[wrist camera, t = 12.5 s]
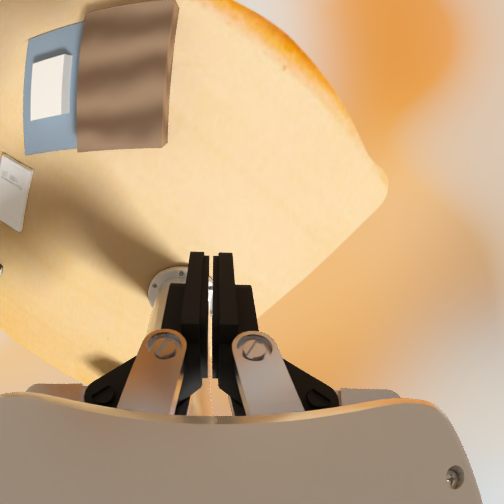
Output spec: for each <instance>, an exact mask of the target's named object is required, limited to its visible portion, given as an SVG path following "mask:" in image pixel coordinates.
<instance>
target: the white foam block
mask: <svg viewBox="0 0 504 504" xmlns="http://www.w3.org/2000/svg"><path fill="white" fill-rule="evenodd" d="M72 57H73V56H72V55H67V54H63V55H59V56H56V57H53V58H49V59H46V60H43V61H40V62H37V63H34V64H33V67H32V80H31V121H33V120H37V119H42V118H46V117H51V116H56V115H61V114H66V113H70V82H71V68H72Z"/></svg>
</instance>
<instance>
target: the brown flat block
mask: <svg viewBox="0 0 504 504" xmlns="http://www.w3.org/2000/svg"><path fill="white" fill-rule="evenodd" d="M178 13H179V7H178V5H177V3H176V1H175V0H158V1H148V2H140V3H133V4H126V5H121V6H115V7H110V8H105V9H101V10H96V11H92V12H88V13H86V16H85V22H84V27H83V34H82V41H81V48H80V57H79V68H78V82H77V151H78V152H87V151H99V150H114V149H135V148H162V147H163V146H164V145H165V144H167V138H168V113H169V96H170V83H171V71H172V61H173V51H174V42H175V35H176V27H177V20H178Z"/></svg>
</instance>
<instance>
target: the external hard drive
mask: <svg viewBox="0 0 504 504" xmlns="http://www.w3.org/2000/svg"><path fill="white" fill-rule="evenodd" d="M33 173H34V170H32V169H31V168H29V167H27V166H25V165H24V164H22V163H19V162H17V161H16V160H15V159H13V158H12V157H10V156H8V155H7V154H5V153H4V154H2V157H1V162H0V220H1V221H2V222H4V223H5V224H7V225H8V226H10V227H11V228H13V229H14V230H16V231H18V232H21V231H22V229H23V222H24V215H25V210H26V204H27V199H28V194H29V189H30V185H31V181H32V176H33Z"/></svg>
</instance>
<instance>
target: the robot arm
mask: <svg viewBox="0 0 504 504" xmlns="http://www.w3.org/2000/svg"><path fill="white" fill-rule="evenodd" d="M148 298H149V302H150V304H151V306H152V307H153V310H152V314H151V318H150V323H149V327H148V331H147V336H146V337H145V339H144V340H143V342H142V344H141V347H140V349H139V352H138V354H137V356H135V357H134V358H132V359H130V360H129V361H127V362H125V363H124V364H122V365H120V366H119V367H117V368H115V369H114V370H112V371H110V372H109V373H107V374H105V375H104V376H102V377H100V378H99V379H97V380H95V381H94V382H92V383H91V384H90V385H89V386H83V385H82V384H35V385H33V386H31V387H29V389H28V390H27V391H26V392H12V393H5V394H1V395H0V504H482V500H481V496H480V493H479V489H478V486H477V483H476V480H475V477H474V474H473V471H472V468H471V466H470V463H469V460H468V458H467V455H466V453H465V451H464V448H463V446H462V444H461V442H460V439H459V437H458V435H457V433H456V431H455V430H454V428H453V426H452V424H451V423H450V421H449V419H448V418H447V416H446V415H445V414H444V412H443V411H442V410H441V409H440V408H439V407H438V406H436V405H434V404H432V403H430V402H427V401H423V400H417V399H409V398H400V397H399V395H398V394H397V393H395V392H393V391H391V390H377V389H347V388H341V389H340V390H339V391H335V390H333V389H332V388H331V387H329V386H327V385H326V384H324V383H323V382H321V381H319V380H317V379H316V378H314V377H312V376H311V375H309V374H307V373H305V372H304V371H302V370H301V369H299V368H297V367H296V366H294V365H292V364H291V363H289V362H287V361H286V360H284V359H283V358H282V356H281V354H280V352H279V349H278V347H277V344H276V343H275V341H274V340H273V339H272V338H271V337H270V336H269V335H267V334H265V333H263V332H259V330H258V324H257V318H256V311H255V305H254V299H253V293H252V287H251V285H235V280H234V268H233V256H232V253H219V256H213V280H212V279H211V278H210V277H209V256H204V252H190V258H189V264H188V267H183V266H178V267H171V268H167V269H165V270H163V271H161V272H159V273H158V274H157V275H156V276H155V277H154V278H153V279H152V281H151V283H150V286H149V289H148ZM211 316H212V369H213V372H212V373H213V378H218V386H219V388H220V389H222V390H223V391H224V392H225V393H227V394H228V399H229V403H230V407H231V411H232V415H233V416H214V415H213V410H212V404H211V396H210V395H211V394H210V317H211Z"/></svg>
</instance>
